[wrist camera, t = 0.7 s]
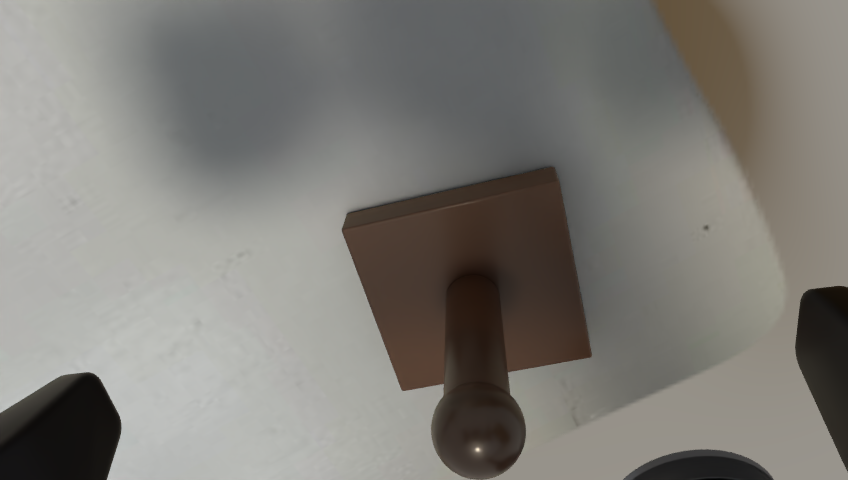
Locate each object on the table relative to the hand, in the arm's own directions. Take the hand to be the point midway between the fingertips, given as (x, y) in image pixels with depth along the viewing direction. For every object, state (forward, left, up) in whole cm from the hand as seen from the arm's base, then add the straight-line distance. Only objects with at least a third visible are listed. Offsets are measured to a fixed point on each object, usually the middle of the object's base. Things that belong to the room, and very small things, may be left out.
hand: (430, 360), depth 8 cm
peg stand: (-7, +1, -13) cm, 15 cm away
